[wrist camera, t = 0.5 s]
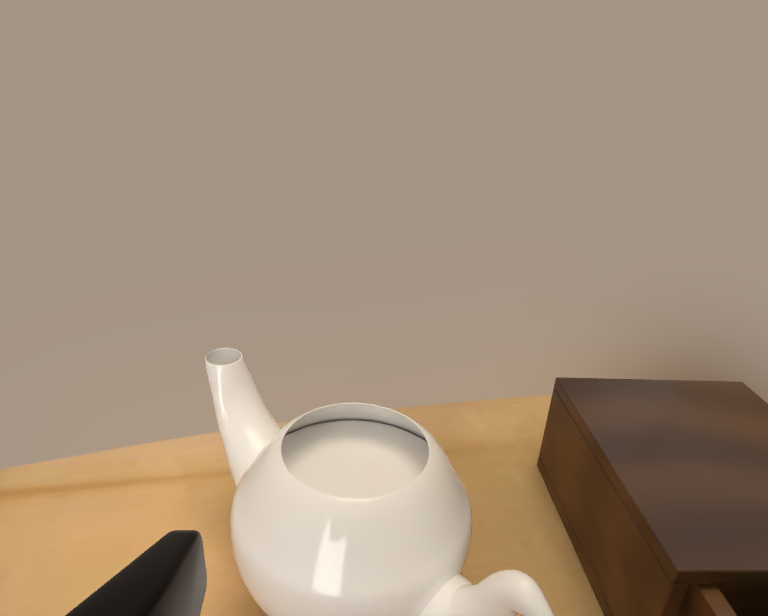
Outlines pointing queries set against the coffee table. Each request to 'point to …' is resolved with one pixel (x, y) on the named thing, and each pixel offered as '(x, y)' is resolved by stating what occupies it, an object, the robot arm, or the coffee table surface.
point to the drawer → (725, 600)
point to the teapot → (350, 511)
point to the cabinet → (659, 486)
